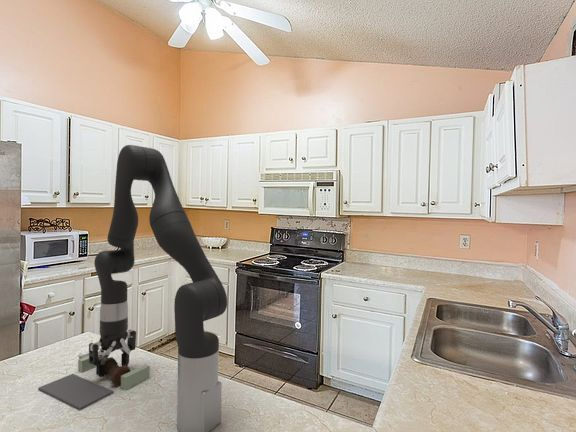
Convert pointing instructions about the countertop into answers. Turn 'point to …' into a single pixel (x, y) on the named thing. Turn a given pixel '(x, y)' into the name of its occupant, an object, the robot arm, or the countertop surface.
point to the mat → (76, 391)
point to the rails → (127, 379)
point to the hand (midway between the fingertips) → (113, 370)
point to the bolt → (115, 371)
